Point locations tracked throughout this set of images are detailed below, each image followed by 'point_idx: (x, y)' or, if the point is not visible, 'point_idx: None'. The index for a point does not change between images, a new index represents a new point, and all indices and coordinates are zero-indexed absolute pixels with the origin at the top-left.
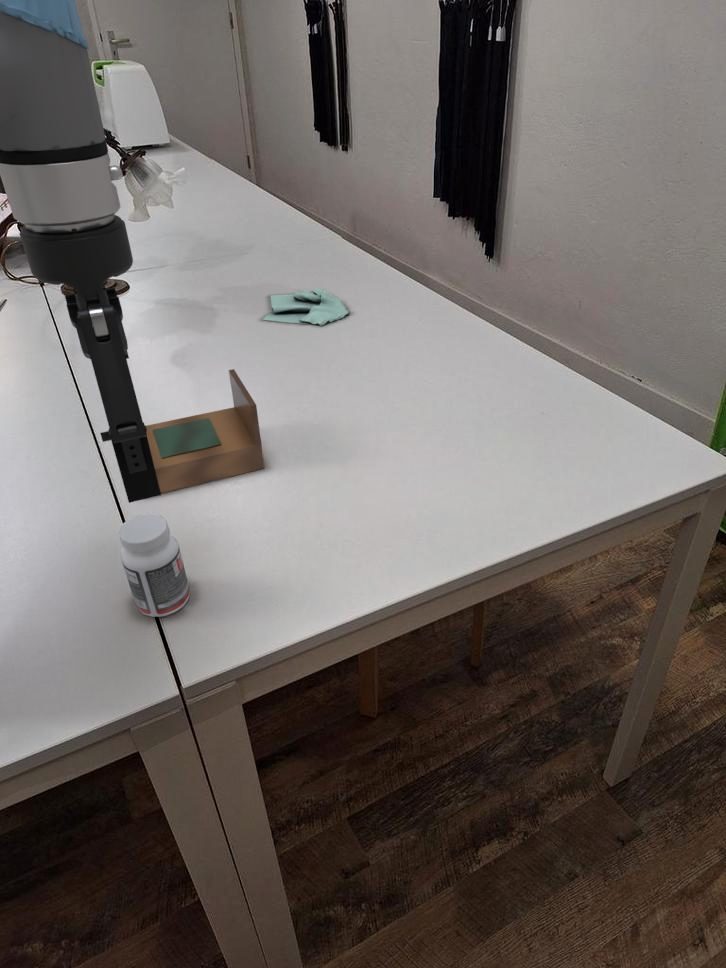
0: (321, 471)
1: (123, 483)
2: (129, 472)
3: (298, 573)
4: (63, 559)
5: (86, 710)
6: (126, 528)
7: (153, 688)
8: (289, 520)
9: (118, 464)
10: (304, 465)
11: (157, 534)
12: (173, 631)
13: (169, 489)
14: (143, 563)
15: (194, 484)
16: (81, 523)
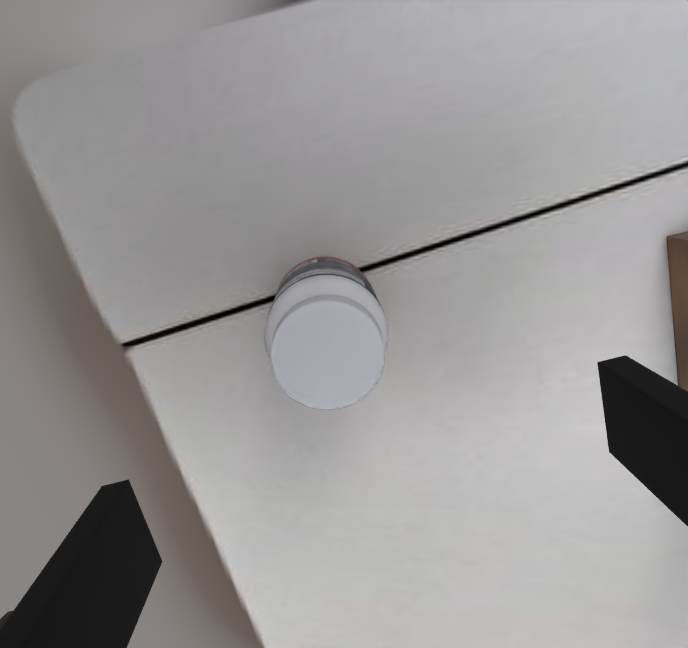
0: (636, 574)
1: (68, 533)
2: (2, 618)
3: (349, 521)
4: (491, 78)
5: (84, 202)
6: (331, 318)
7: (122, 305)
8: (497, 513)
9: (24, 596)
10: (668, 547)
11: (293, 393)
12: (243, 327)
13: (674, 287)
14: (267, 337)
15: (676, 338)
16: (613, 95)
